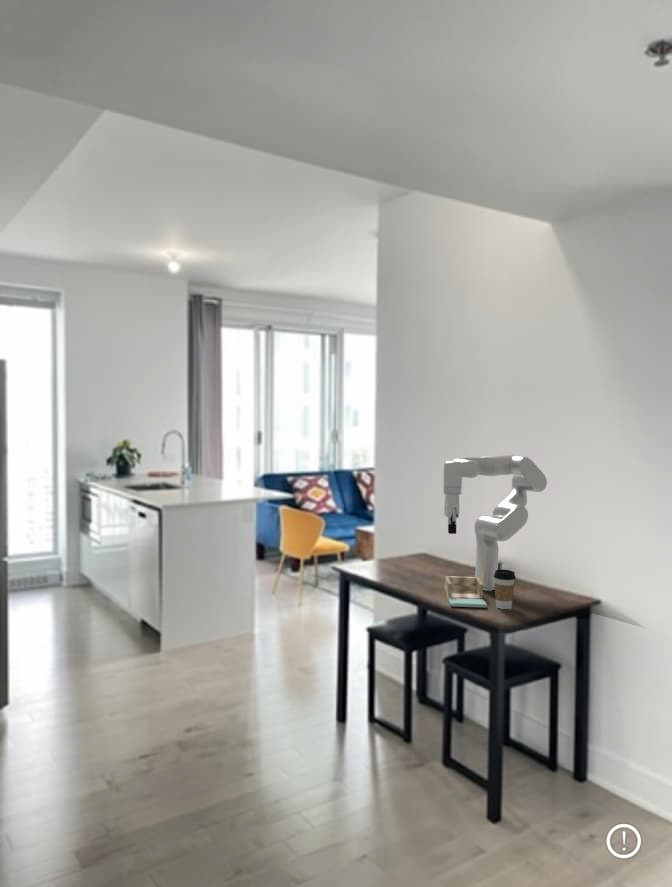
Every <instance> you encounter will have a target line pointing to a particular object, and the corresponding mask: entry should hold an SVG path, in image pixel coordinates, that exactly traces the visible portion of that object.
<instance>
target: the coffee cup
mask: <svg viewBox="0 0 672 887" xmlns="http://www.w3.org/2000/svg"><path fill="white" fill-rule="evenodd" d="M494 578H495V582H494V583H495V591H494V596H495V608H496V607H497V608H502V609H509V608H511V609H512V604H513V598H514V590H515V580H516V574H515V571H513V570H510V569H498V570H496V571H495V574H494ZM497 608H496V609H497Z"/></svg>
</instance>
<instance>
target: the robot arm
mask: <svg viewBox="0 0 672 887" xmlns="http://www.w3.org/2000/svg"><path fill="white" fill-rule="evenodd" d="M479 475H480V476H486V477H496V476H497V477H498V476H507V475H508V476H509V475H513V476H512V479H511V491H510V493H509V494H508V495H507V497H506V498H504V499H503V500H502V501H501V502H499V503H498V504H497V505H496V507H495V508H494V509H493V511H492V515H481V516H479V517H477V519H476V520H475V522H474V535H475V541H476V542H475V544H476V545H475V546H476V548H475V549H476V550H475V572H474V573H475V575H474V577H479V579H480V580H481V582H482V584H483V590H484V591H483V592H485V591H486V592H493V591H492V590H495V583H494V582H495V578H494V574H495V571H496V570H499V569H498V568H499V544H498V542H506V541H508V540H510V539H511V538H513V536H515V535H516V534H517V533H518V532H519V531H520V530H521V529H522V528H523V527H524V526H525V525H526V523H527V522H528V519H529V512H528V509H527V508H526V506H527V503H528V497H527V494H528V493H527V491H528V492H536V493H540V492H543V491H544V490H545V489H546V488H547V486H546V485H548V480H547V477H546V475H545V474H544V472H543V471H542V470H541V469H540V467H538V465H536V463H535V462H534V461H533V460H532V459H530V458H529V457H528V456H524V455H513V454H512V455H511V454H509V455H508V454H507V455H495V456H493V455H492V456H480V457H459V458H455V459H453V460H446V461H445V462H444V463H443V495H444V513H443V514H444V516H445V517H446V518H447V520H448V521H447V522H448V523H447V527H448V528H447V533H448V534H449V535H453V534H455V535H456V534H457V519H458V518H460V495H462V494H463V490H462V488H463V487H462V486H463V484H462V483H463V481H462V480H463V478H467V479H472V478H473V479H474V478H476V477H478V476H479ZM526 493H527V494H526Z"/></svg>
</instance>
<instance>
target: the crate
mask: <svg viewBox="0 0 672 887" xmlns="http://www.w3.org/2000/svg"><path fill="white" fill-rule="evenodd" d="M444 578H445V580H444V593H445V596H446V598H447V600H448V598H460V599H483V596H484V595H483V594H484V591H483V584H482V582H481V580H480V579H479V577H475V576H453V575H452V576H449V575H447V576H446V575H445V577H444ZM483 600H484V599H483Z"/></svg>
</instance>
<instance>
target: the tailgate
mask: <svg viewBox="0 0 672 887" xmlns="http://www.w3.org/2000/svg"><path fill="white" fill-rule="evenodd" d="M447 601H448V603H449V605H450V607H458V608H459V607H461V608H462V607H464V608H488V604H487V602H486V601H485V600H484V599H460V598H448V599H447Z"/></svg>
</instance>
